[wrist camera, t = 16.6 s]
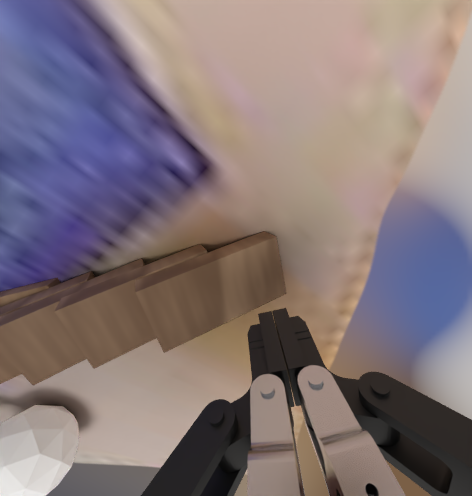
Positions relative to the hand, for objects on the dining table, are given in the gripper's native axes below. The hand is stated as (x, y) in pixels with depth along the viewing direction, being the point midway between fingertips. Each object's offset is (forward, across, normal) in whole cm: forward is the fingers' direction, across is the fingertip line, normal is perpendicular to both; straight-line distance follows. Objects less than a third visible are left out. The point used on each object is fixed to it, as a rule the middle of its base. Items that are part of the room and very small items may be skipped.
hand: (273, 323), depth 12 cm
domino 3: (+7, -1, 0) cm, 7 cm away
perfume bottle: (+8, +27, +12) cm, 31 cm away
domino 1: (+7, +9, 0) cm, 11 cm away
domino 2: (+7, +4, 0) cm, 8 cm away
